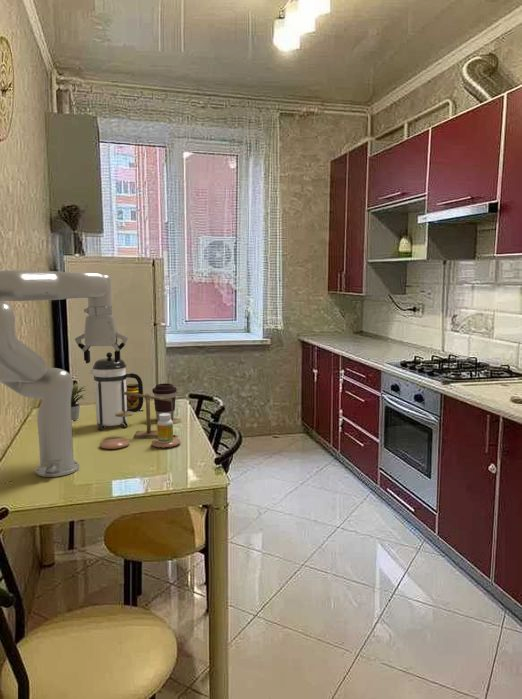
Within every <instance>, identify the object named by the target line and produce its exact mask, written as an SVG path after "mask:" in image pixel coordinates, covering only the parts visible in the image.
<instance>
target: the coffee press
mask: <svg viewBox="0 0 522 699" xmlns="http://www.w3.org/2000/svg"><path fill="white" fill-rule="evenodd" d="M105 357H106V358H100V359H98V360H96V361H95V362H94V364H93V365H92V368H91V369H90V371H89V374H91V375H92V374H93V381H94V396H95V416H96V418H95V419H96V424H97V425H98V424H99V425H98V427H97V431H104V429H105V427H113V426H121V427H122V428H123V429H126V428H127V429H128V427H129V425H128V423H127V421H128V416H127V417H117V416H115V413H117V412H121V411H123V392H126V391H127V378H128V379H135V380H136V381H137V384H138V393H139V394H142V395H144V387H143V385H144V384H143V381H142V378H141V377H140V376H139V375H138V374H137V373H132V372H131V373H126V368H127V364H126V363H125V361H124V360H123V359H121V358H120V360H119V362H118V363H115V357H113V354H112V352H109V351H108V352H106V356H105ZM124 402H125V411H131V412H133V414H134V413H136V412H137V411H138V412H140V411H139V410H140V409H142V407H143V406H144V397H139V403H138V406H137V407H136V408H131V409H127V397H126V395H124Z"/></svg>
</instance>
